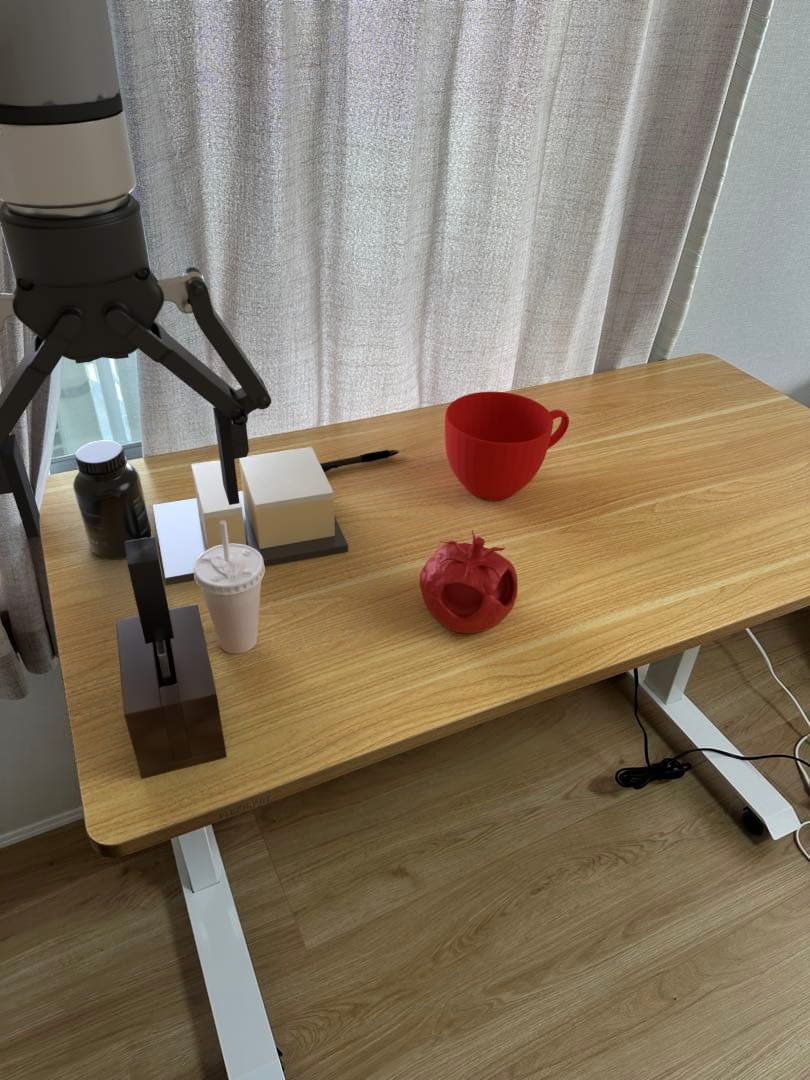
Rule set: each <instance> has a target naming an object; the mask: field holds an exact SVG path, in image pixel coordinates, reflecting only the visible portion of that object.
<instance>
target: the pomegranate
mask: <svg viewBox="0 0 810 1080" xmlns="http://www.w3.org/2000/svg"><path fill="white" fill-rule="evenodd" d="M471 535H472V542H471V543H468V542H459V543H458V542H457V541H456V540H447V541H441V540H440V541H439V542H440V543H441V544H442V545H440V546H439V547H438V548H437V549H436V550H435V551H434V553H433V554H432V555H431V556H430V557H429V558H428V559H427V560H426V562H425V563H424V565H423V567H422V568H421V570H420V573H419V580H418V583H419V589H420V594H421V597H422V600H423V604H424V605H425V607H426V609H427V611H428V612H429V614H430V615H431V616H432V617H433V618H434V619H436V621H437V622H438V623H440V624H441V625H442V626H444V627H445V628H447V629H449V630H450V631H453V632H457V633H461V634H474V633H480V632H485V631H487V630H489V629H492V628H495V627H496V626H498V625H499V624H501V622H502V621H503V620H504V619H506V618H507V616H508V615H509V614H510V613H511V611H512V610H513V608H514V606H515V603H516V600H517V597H518V589H519V587H518V586H519V585H518V580H519V579H518V574H517V571H516V568H515V566H514V565H513V563H512V562H511V561H510V560H509V559H507V558H506V557H504V556H503V555H502V554H499V553H498V552H500V551H501V552H502V551H504V550H505V549H506V547H505V546H503V547H496V546H494V547H490V548H488V547H485V546H484V545H485V543H486V541H485V539H484V538H482V537H481V536H478V537H476V535H475V533H474V529H472V530H471Z"/></svg>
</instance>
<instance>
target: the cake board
mask: <svg viewBox="0 0 810 1080" xmlns="http://www.w3.org/2000/svg"><path fill="white" fill-rule="evenodd" d="M238 494H239V499H240V503H241V506H242V512H243V521H244V530H245V539H246V545H247V546H250V547H252V548H254V549H255V550H257V551H258V552H259V553H260V554H261V556H262V557H263V561H264V566H265V568H267V567H273V566H277V565H284V564H289V563H294V562H299V561H306V560H311V559H315V558H322V557H327V556H332V555H338V554H343V553H348V552H349V543H348V542H347V539H346V537H345V535H344V533H343V531H342V529H341V527H340V524H339V522H338V520H337V518H336V516H335V515H334V525H335V536H331V537H325V538H319V539H314V540H308V541H303V542H297V543H291V544H286V545H280V546H275V547H269V548H263V549H259V546H258V543H257V540H256V536H255V533H254V530H253V527H252V524H251V521H250V518H249V515H248V512H247V509H246V506H245V503H244V499H243V490H238ZM152 511H153V518H154V523H155V528H156V535H157V540H158V546H159V552H160V557H161V563H162V569H163V575H164V576H163V577H164V582H165V585H166V586H170V585H175V584H176V585H177V584H181V583H187V582H193V581H195V579H194V563H195V561H196V559H197V558H198V557H199V556H200V555H201V554H202V553H203V552H205V551H206V550H208V547H207V543H206V539H205V535H204V531H203V527H202V523H201V519H200V514H199V510H198V506H197V499H196V497H194V498H188V499H181V500H176V501H175V500H174V501H168V502H162V503H156V504H155V503H154V504H152Z"/></svg>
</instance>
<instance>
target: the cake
mask: <svg viewBox="0 0 810 1080" xmlns="http://www.w3.org/2000/svg"><path fill="white" fill-rule="evenodd" d="M238 461H239V471H240V479H241V480H240V481H241V489H242V490H241V491H243V499H244V503H245V506H246V509H247V512H248V515H249V518H250V521H251V524H252V527H253V530H254V533H255V536H256V540H257V543H258V546H259V549H263V548H269V547H275V546H280V545H286V544H291V543H297V542H303V541H308V540H314V539H319V538H325V537H331V536H335V525H334V516H335V491H334V490H333V488H332V486H331V484H330V482H329V480H328V477H327V476H326V473H325V472H324V471H323V469H322V467H321V465H320V463H321V462H320V461H319V459H318V457H317V455H316V453H315V451H314V449H313V447H312V446H308V447H307V446H306V447H300V448H294V449H293V448H292V449H286V450H280V451H279V450H278V451H272V452H267V453H259V454H252V455H247V457H244V458H238Z"/></svg>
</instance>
